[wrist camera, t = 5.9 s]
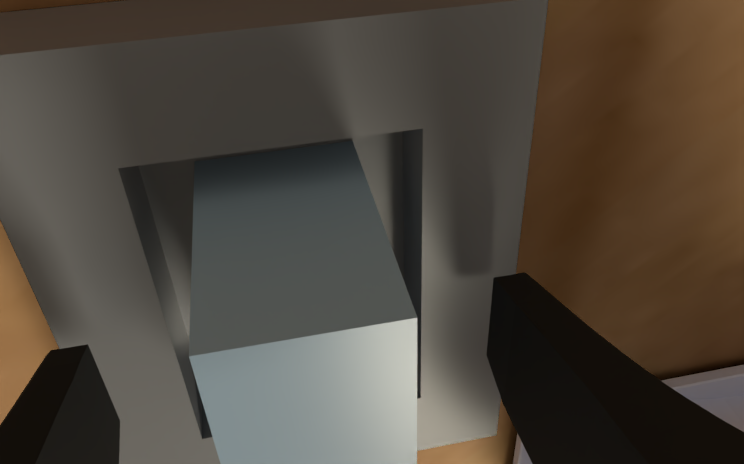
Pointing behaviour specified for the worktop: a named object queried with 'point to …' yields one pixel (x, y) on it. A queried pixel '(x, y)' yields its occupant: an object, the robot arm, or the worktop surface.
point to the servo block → (300, 313)
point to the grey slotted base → (257, 135)
